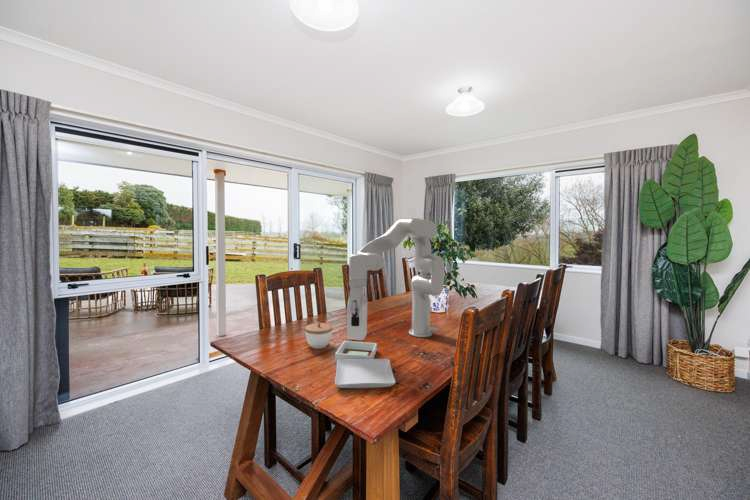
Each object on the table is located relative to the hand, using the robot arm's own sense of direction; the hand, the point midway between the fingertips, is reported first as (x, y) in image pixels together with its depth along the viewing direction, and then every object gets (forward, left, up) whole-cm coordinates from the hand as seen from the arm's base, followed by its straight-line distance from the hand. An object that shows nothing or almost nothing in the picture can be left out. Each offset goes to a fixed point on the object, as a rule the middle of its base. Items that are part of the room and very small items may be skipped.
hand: (357, 322), depth 139 cm
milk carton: (0, 0, -6) cm, 6 cm away
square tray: (0, 0, -15) cm, 15 cm away
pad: (0, 0, -15) cm, 15 cm away
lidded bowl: (+20, -8, -15) cm, 26 cm away
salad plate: (-7, +19, -15) cm, 25 cm away
